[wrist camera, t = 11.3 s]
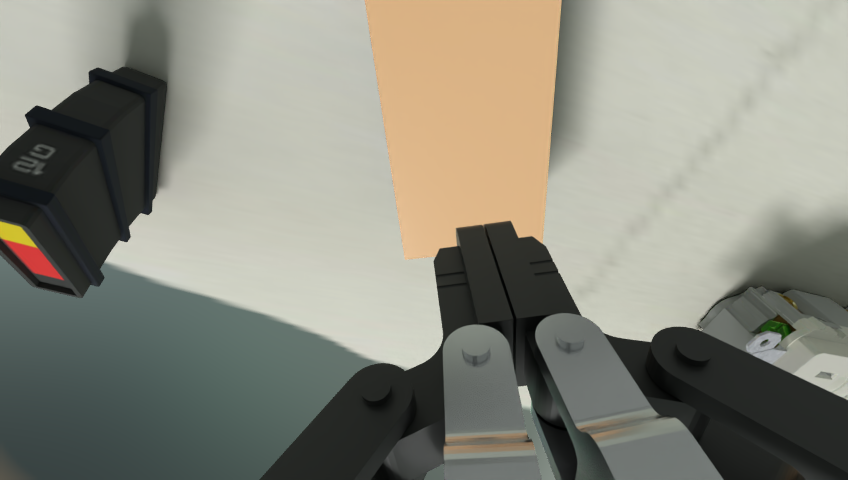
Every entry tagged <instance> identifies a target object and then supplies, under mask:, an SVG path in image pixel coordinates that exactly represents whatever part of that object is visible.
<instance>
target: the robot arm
mask: <svg viewBox="0 0 848 480" xmlns="http://www.w3.org/2000/svg"><path fill="white" fill-rule="evenodd" d="M456 241H457V246H454V247H447V248H440V249H439V251H438V253H437V255H436V257H435V260H434V268H435V275H436V283H437V291H438V298H439V306H440V313H441V321H442V328H443V341H442V344H441V346H440V348H439V349H438V351H437V352H436V353H435V355H434V356H432V357H431V358H430V359H429V360H427V361H426V362H424V363H422V364H420V365H418V366H416V367H414V368H411V369H409V370H407V371H404V370H403V369H401V368H400V367H398V366H395V365H392V364H386V363H380V364H374V365H370V366H368V367H365V368H363V369H362V370H360V371H358V372H357V373H356V374H355V375H354V376H353V377H352V378H351V379H350V380H349V381H348V382H347V383H346V384H345V385H344V386H343V388H342V389H341V390H340V391H339V392H338V393H337V394H336V395H335V397H333V399H332V400H331V401H330V402H329V403H328V404H327V405H326V406H325V408H324V409H323V410H322V411H321V412H320V413H319V414H318V415H317V416H316V418H315V419H314V420H313V421H312V422H311V423H310V424H309V425H308V427H307V428H306V429H305V430H304V431H303V432H302V433H301V434H300V435H299V437H298V438H297V439H296V440H295V441H294V442H293V443H292V444H291V445H290V446H289V448H288V449H287V450H286V451H285V452H284V453H283V454H282V455H281V457H280V458H279V459H278V460H277V461H276V462H275V463H274V464H273V465H272V466H271V468H270V469H269V470H268V471H267V472H266V473H265V474H264V475H263V477H262V478H261V479H260V480H424V478H425V476H426V474H427V472H428V471H430V470H432V469H434V468H436V467H438V466H440V465H442V464H444V480H542V479H541V475H540V469H539V465H538V460H537V455H536V451H535V448H534V445H533V442H532V440H531V439H529V437H528V435H527V431H526V426H525V421H524V416H523V411H522V406H521V401H520V396H519V391H518V386H526V385H527V387H528V390H529V394H530V397H531V416H532V419H533V422H534V425H535V427H536V430H537V433H538V435H539V438H540V440H541V443H542V446H543V448H544V451H545V453H546V456H547V459H548V461H549V464H550V467H551V469H552V472H553V474H554V477H555V479H556V480H848V400H846V399H844V398H842V397H840V396H838V395H836V394H834V393H832V392H829V391H827V390H825V389H823V388H821V387H819V386H817V385H815V384H813V383H810V382H808V381H806V380H804V379H802V378H800V377H798V376H796V375H793V374H791V373H789V372H787V371H785V370H783V369H781V368H779V367H776V366H774V365H772V364H770V363H768V362H766V361H764V360H762V359H760V358H757V357H755V356H753V355H751V354H749V353H747V352H745V351H743V350H740V349H738V348H736V347H734V346H732V345H730V344H728V343H726V342H723V341H721V340H719V339H717V338H715V337H713V336H711V335H709V334H706V333H704V332H702V331H699V330H696V329H692V328H687V327H670V328H666V329H663V330H661V331H659V332H658V333H657V334H655V336H654V337H653V339H652V342H645V341H637V340H630V339H622V338H617V337H613V336H609V335H607V334H604V333H603V332H602V331H601V329H600V328H599V327H598V326H597V325H596V324H595V323H593V322H592V321H590V320H589V319H587V318H585V317H582V316H581V314H580V312H579V310H578V308H577V306H576V304H575V302H574V300H573V299H572V297H571V295H570V293H569V291H568V289H567V287H566V285H565V283H564V281H563V279H562V277H561V275H560V273H558V269H557V267H556V265H555V263H554V262H553V260H552V258H551V256H550V254H549V252H548V250H547V248H546V246H545V245H543V244H542V243H541V242H539V241H538V240H537V239H535V238H534V237H533V236H529V237H521V238H518V236H517V233H516V231H515V229H514V226H513V224H512V222H511V221H504V222H496V223H489V224H484V225H474V226H467V227H459V228H456Z"/></svg>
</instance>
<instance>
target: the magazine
mask: <svg viewBox="0 0 848 480" xmlns="http://www.w3.org/2000/svg"><path fill="white" fill-rule="evenodd" d="M166 89H167V85H166V82H164V81H162V80H159V79H157V78H154V77H152V76H149V75H146V74H144V73H141V72H138V71H136V70H133V69H130V68H127V67H122V68H120V69H118V70H116V71H114V72H109V71H106V70H104V69H101V68H96V69H93V70H91V71H89V84H88V85H87V86H85V87H83V88H81V89H80V90H78V91H76V92H74V93H73V94H71V95H70V96H69V97H68V98H66V99H65V100H64V101H63V102H61V103H60V104H59V105H57V106H56V107H55V108H54V109H52V110H49V109H46V108H43V107H40V106H35V107H34V108H33V109H31V110H30V111H29V112H28V113H27V114H25V117H26V119H27V122H28V124H29V126H30V129H29V130H27V131H26V132H25V133H24V134H23V135H22V136H20V137H19V138H18V139H17V140H16V141H14V142H13V143H12V144H11V145H10V146H9V147H8V148H7V149H6V150H5V151H4V152H3V153H2V154H1V155H0V255H1V256H2V257H3V258H4V259H5V260H6V261H7V262H8V263H9V264H10V265H11V266H12V267H13V268H14V269H15V270H16V271H17V272H18V273H19V274H20V275H21V276H22V277H23V278H24V279H25V280H26V281H27V282H28V283H29V284H30V285H31V286H33V287H36V288H39V289H43V290H48V291H52V292H56V293H60V294H65V295H69V296H73V297H78V298H83V296H84V294H85V292H86V291H87V289H88V288H89V286H90V285H94V286H100V284H101V283H102V281H103V279H104V276H103V274H102V272H101V271H100V268H101V266H102V264H103V263H104V261H105V260H106V258H107V257H108V255H109V253H110V252H111V250H112V249H113V247H114V246H115V245H116V243H117V242H118V240H120V241H124V242H128V240H129V239H130V237H131V236H130V231H129V226H130V225H131V223H132V222H133V221H134V220H135V219H136V217H137V216H138V215H139V214H140V213H143V214H146V215H149V214H150V213H151V212H152V200H153V199H154V198H155V196H156V186H157V177H158V167H159V157H160V147H161V138H162V128H163V118H164V108H165V98H166Z"/></svg>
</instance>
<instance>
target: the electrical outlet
mask: <svg viewBox="0 0 848 480" xmlns="http://www.w3.org/2000/svg"><path fill="white" fill-rule="evenodd" d="M699 325H700V326H701V327H702V328H703V331H702V332H704V333H706V334H709V335H711V336H713V337H715V338H717V339H719V340H721V341H723V342H726V343H728V344H730V345H732V346H734V347H736V348H738V349H740V350H743V351H745V352H747V353H749V354H751V355H753V356H755V357H757V358H760V359H762V360H764V361H766V362H768V363H770V364H772V365H774V366H776V367H779V368H781V369H783V370H785V371H787V372H789V373H791V374H793V375H796V376H798V377H800V378H802V379H804V380H806V381H808V382H810V383H813V384H815V385H817V386H819V387H821V388H823V389H825V390H827V391H829V392H832V393H834V394H836V395H838V396H840V397H842V398H844V399H846V400H848V308H846V309H844V308H842V307H841V306H840V305H838V304H837V303H836V302H834V301H833V300H832V299H830V298H826V297H822V296H818V295H814V294H810V293H806V292H802V291H798V290H793V289H792V290H789V291H787V292H785V293H783V294H781V293H778V292H774V291H771V290H766V289H765V288H764V287H763V286H760V287H758V288H756V289H754V288H753V287H749V288H748V289H747V290H746V291H745V292H744V293H741V294H740V295H737V296H734V297H731V298H727V299H725V300H723V301H721V302H720V303H718V304H717V305H715V306H714V307H713V308H712V309H711V310H710V312H709V313H708V315H707V316H706V317H705V318H704V319H703V320H702V321H701V322H700V324H699Z"/></svg>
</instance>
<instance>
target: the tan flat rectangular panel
mask: <svg viewBox="0 0 848 480" xmlns="http://www.w3.org/2000/svg"><path fill="white" fill-rule="evenodd" d="M561 2H562V0H365V5H366V11H367V18H368V24H369V31H370V37H371V43H372V50H373V56H374V63H375V69H376V76H377V82H378V89H379V95H380V101H381V108H382V114H383V121H384V127H385V134H386V140H387V147H388V153H389V159H390V166H391V172H392V179H393V185H394V192H395V198H396V205H397V211H398V217H399V224H400V230H401V237H402V243H403V250H404V256H405V260H407V259H416V258H425V257H435V256H436V255H437V253H438V251H439V249H440V248H447V247H454V246H457V241H456V228H459V227H467V226H474V225H484V224H489V223H496V222H504V221H511V222H512V224H513V226H514V229H515V231H516V233H517V236H518V238H521V237H529V236H533V237H534V238H535V239H537V240H538V241H539V242H541V243H542V244H543V231H544V218H545V205H546V193H547V180H548V167H549V154H550V142H551V129H552V116H553V104H554V91H555V78H556V65H557V53H558V40H559V27H560V14H561Z"/></svg>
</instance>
